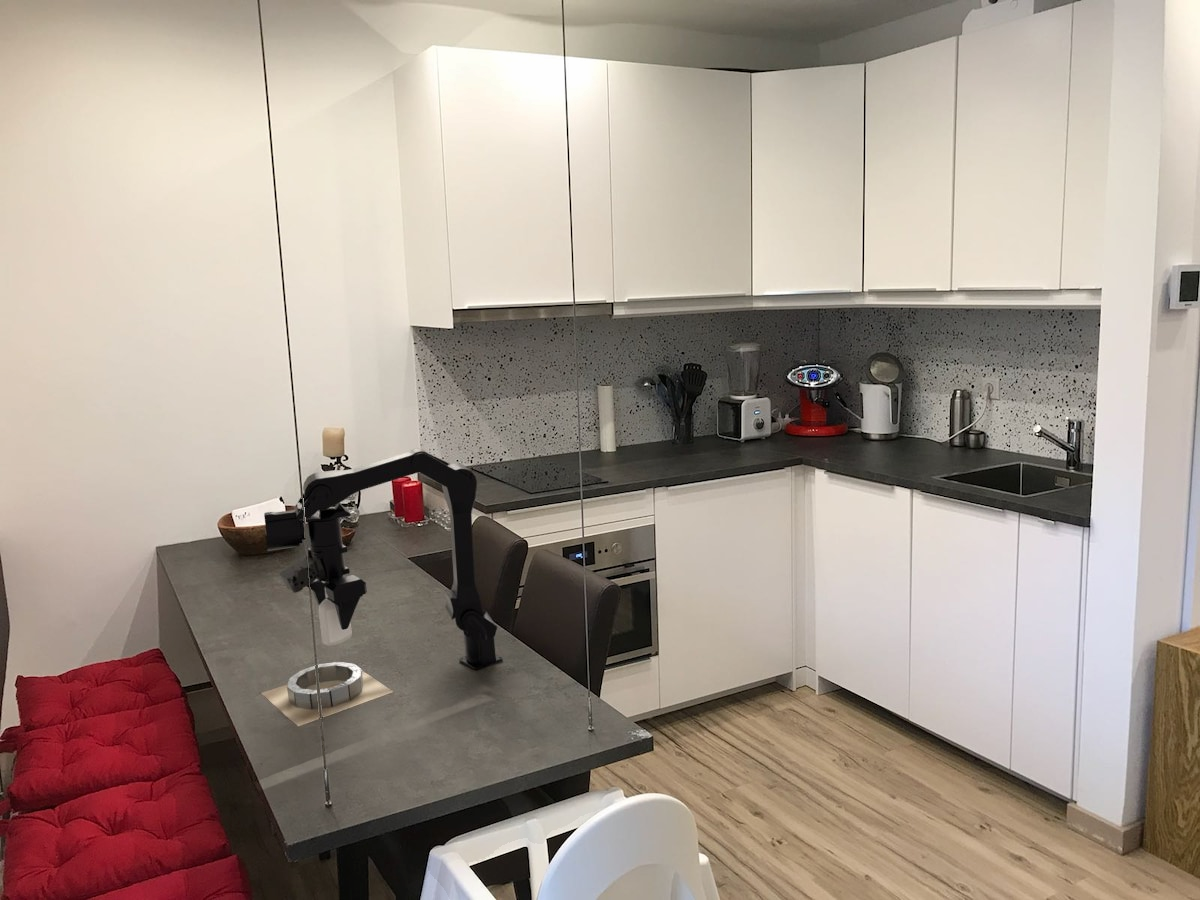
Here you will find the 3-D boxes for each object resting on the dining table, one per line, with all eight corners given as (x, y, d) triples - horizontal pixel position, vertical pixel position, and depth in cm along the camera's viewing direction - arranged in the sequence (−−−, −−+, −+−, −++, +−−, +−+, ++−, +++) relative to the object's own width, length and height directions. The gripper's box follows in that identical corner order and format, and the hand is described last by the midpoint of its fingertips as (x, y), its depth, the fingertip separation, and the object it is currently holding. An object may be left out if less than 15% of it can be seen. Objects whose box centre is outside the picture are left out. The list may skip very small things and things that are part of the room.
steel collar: (374, 691, 173) (372, 676, 172) (306, 716, 165) (304, 700, 164) (344, 670, 183) (343, 656, 182) (279, 693, 175) (277, 678, 174)
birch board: (394, 697, 173) (393, 691, 172) (299, 732, 162) (298, 726, 161) (352, 668, 186) (351, 663, 186) (261, 699, 175) (260, 693, 175)
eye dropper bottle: (354, 641, 175) (348, 579, 173) (323, 647, 173) (316, 585, 170) (350, 633, 179) (343, 573, 176) (320, 639, 177) (313, 578, 174)
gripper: (264, 541, 174) (274, 621, 177) (302, 563, 160) (312, 649, 163) (322, 529, 181) (331, 605, 184) (363, 548, 167) (372, 631, 170)
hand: (335, 622), depth 175 cm, fingers closed on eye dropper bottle, 8 cm apart
